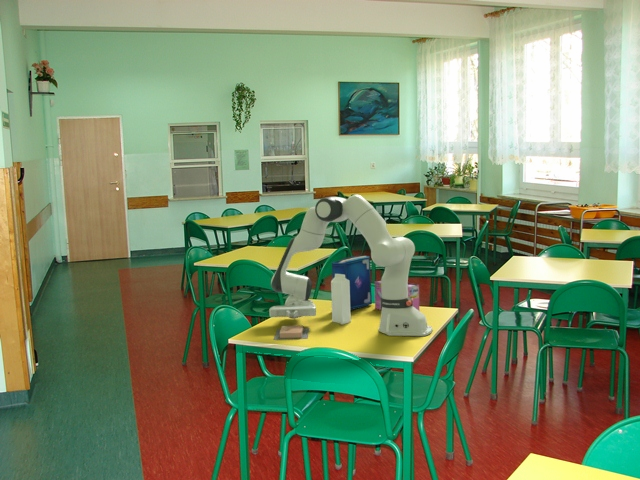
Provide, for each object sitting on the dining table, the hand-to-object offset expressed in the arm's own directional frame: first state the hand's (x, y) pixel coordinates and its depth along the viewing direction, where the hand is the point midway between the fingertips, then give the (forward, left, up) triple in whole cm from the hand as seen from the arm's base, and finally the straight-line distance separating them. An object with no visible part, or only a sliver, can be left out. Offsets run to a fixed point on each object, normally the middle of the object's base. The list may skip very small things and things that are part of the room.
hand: (291, 315), depth 273 cm
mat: (-1, +2, -8) cm, 8 cm away
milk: (-14, -24, -8) cm, 28 cm away
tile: (+1, -2, -6) cm, 7 cm away
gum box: (-32, -52, -8) cm, 61 cm away
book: (-9, -52, -8) cm, 54 cm away
